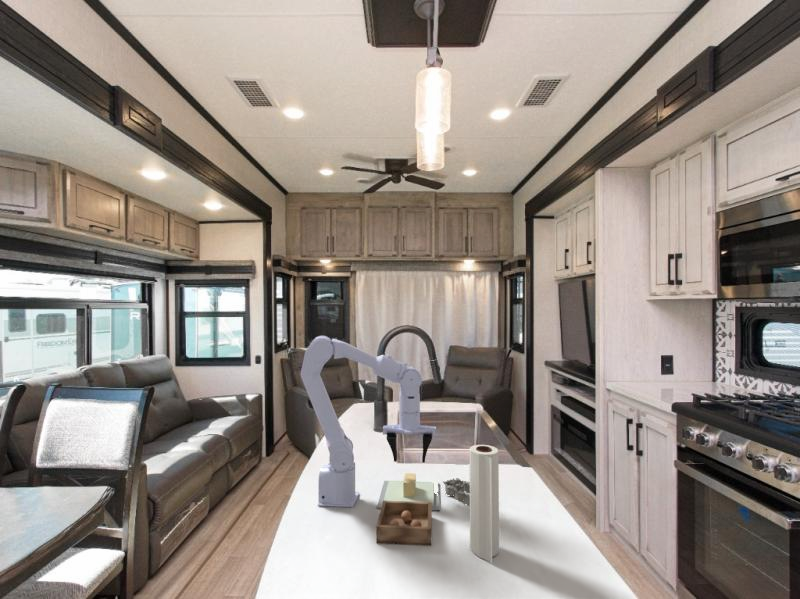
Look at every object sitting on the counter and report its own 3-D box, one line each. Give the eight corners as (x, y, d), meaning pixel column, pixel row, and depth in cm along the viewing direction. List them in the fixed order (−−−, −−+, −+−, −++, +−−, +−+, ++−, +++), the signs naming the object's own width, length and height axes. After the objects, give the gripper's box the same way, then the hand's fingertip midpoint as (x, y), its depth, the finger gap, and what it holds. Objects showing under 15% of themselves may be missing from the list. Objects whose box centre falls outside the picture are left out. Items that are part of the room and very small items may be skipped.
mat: (376, 508, 104) (376, 507, 104) (384, 482, 120) (384, 480, 120) (439, 511, 103) (439, 509, 103) (438, 483, 119) (438, 482, 119)
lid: (383, 505, 105) (382, 487, 105) (388, 483, 118) (388, 467, 118) (433, 507, 104) (433, 489, 104) (433, 485, 117) (433, 469, 117)
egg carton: (488, 500, 109) (488, 485, 109) (469, 509, 104) (469, 493, 104) (459, 486, 117) (459, 472, 117) (440, 494, 113) (440, 479, 113)
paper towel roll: (475, 538, 91) (475, 441, 91) (502, 546, 88) (501, 446, 88) (463, 555, 84) (463, 451, 85) (492, 565, 81) (491, 457, 82)
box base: (376, 543, 89) (376, 526, 89) (383, 515, 101) (383, 500, 101) (431, 545, 88) (431, 529, 88) (431, 517, 100) (431, 502, 100)
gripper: (381, 414, 108) (381, 465, 108) (436, 415, 107) (436, 467, 107) (384, 407, 115) (384, 455, 115) (435, 408, 114) (436, 457, 114)
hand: (409, 460), depth 112 cm, fingers open, 7 cm apart
